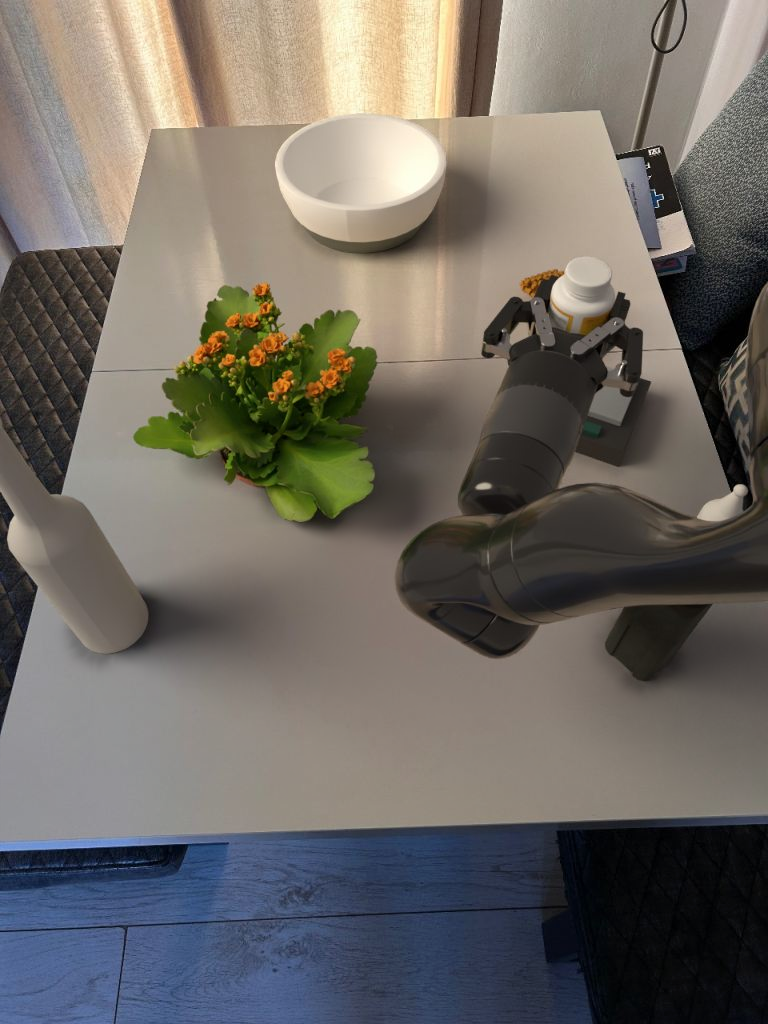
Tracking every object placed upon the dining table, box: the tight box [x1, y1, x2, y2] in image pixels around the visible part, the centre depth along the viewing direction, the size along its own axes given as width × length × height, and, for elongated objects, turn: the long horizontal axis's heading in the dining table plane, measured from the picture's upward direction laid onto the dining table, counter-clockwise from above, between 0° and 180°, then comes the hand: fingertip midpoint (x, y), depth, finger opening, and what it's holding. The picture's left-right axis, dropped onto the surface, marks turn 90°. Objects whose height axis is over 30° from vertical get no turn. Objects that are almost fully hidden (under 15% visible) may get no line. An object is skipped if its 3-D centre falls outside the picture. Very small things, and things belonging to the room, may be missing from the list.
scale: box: [575, 365, 652, 467], centre depth 84 cm, size 11×11×3 cm
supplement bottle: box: [547, 256, 616, 335], centre depth 70 cm, size 6×6×10 cm
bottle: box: [0, 417, 150, 655], centre depth 60 cm, size 7×7×28 cm
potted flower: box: [132, 282, 378, 523], centre depth 76 cm, size 25×24×18 cm
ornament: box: [519, 268, 565, 298], centre depth 92 cm, size 7×10×15 cm
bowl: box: [274, 112, 448, 254], centre depth 103 cm, size 22×22×8 cm
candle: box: [604, 483, 749, 682], centre depth 59 cm, size 5×5×25 cm
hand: (585, 291), depth 70 cm, fingers closed on supplement bottle, 5 cm apart
